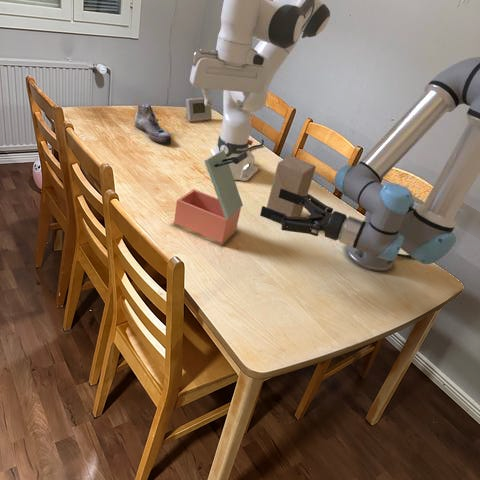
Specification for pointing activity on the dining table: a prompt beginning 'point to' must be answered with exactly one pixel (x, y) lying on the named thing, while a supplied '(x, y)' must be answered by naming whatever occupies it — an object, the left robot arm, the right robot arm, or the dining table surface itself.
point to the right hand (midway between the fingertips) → (270, 201)
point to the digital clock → (197, 110)
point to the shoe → (151, 124)
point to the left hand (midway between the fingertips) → (223, 106)
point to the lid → (225, 181)
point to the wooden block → (290, 185)
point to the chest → (204, 217)
